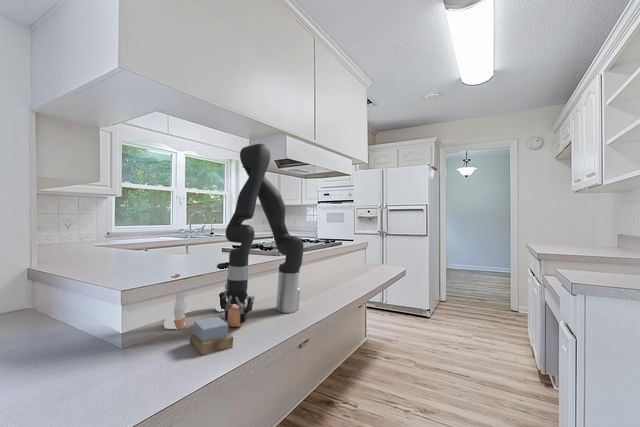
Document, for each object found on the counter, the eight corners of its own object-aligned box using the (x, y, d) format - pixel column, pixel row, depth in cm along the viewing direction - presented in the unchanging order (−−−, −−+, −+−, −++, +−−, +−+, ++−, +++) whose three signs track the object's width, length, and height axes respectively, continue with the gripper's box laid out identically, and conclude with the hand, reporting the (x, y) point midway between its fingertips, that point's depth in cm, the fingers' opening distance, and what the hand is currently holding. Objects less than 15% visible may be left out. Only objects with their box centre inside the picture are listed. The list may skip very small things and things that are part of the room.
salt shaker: (174, 321, 120) (177, 270, 119) (189, 324, 117) (192, 273, 117) (158, 327, 113) (161, 274, 113) (174, 331, 111) (177, 277, 110)
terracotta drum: (238, 320, 123) (239, 304, 123) (245, 324, 119) (246, 308, 119) (224, 323, 119) (225, 307, 119) (231, 327, 115) (232, 311, 115)
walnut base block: (218, 338, 109) (219, 326, 109) (232, 349, 102) (233, 336, 101) (189, 345, 102) (190, 333, 102) (201, 357, 95) (202, 344, 95)
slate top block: (217, 328, 107) (218, 316, 107) (227, 337, 101) (228, 324, 101) (193, 333, 102) (194, 321, 102) (202, 342, 96) (203, 329, 96)
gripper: (215, 276, 117) (212, 321, 118) (249, 281, 113) (246, 328, 113) (226, 272, 124) (224, 315, 125) (259, 277, 120) (257, 321, 121)
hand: (235, 321), depth 119 cm, fingers closed on terracotta drum, 5 cm apart
